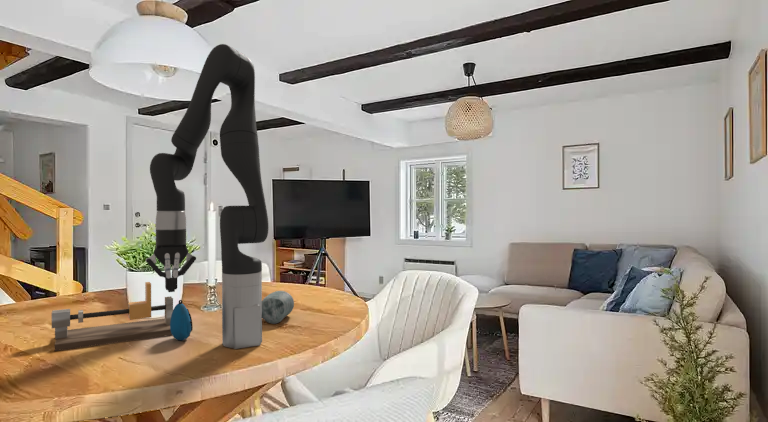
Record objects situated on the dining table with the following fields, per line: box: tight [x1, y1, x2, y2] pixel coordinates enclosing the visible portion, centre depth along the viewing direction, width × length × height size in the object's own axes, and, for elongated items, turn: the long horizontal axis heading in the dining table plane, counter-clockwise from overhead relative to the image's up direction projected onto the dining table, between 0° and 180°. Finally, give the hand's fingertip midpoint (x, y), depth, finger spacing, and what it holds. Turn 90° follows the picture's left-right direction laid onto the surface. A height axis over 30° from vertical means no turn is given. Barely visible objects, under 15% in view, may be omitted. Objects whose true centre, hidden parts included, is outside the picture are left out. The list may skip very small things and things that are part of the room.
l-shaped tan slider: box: [127, 281, 152, 321], centre depth 123 cm, size 4×5×9 cm
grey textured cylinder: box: [262, 290, 295, 325], centre depth 136 cm, size 14×10×10 cm
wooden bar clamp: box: [51, 295, 174, 352], centre depth 120 cm, size 14×27×8 cm, turn 123°
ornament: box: [170, 299, 194, 341], centre depth 116 cm, size 8×5×10 cm, turn 41°
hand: (171, 291), depth 127 cm, fingers closed
